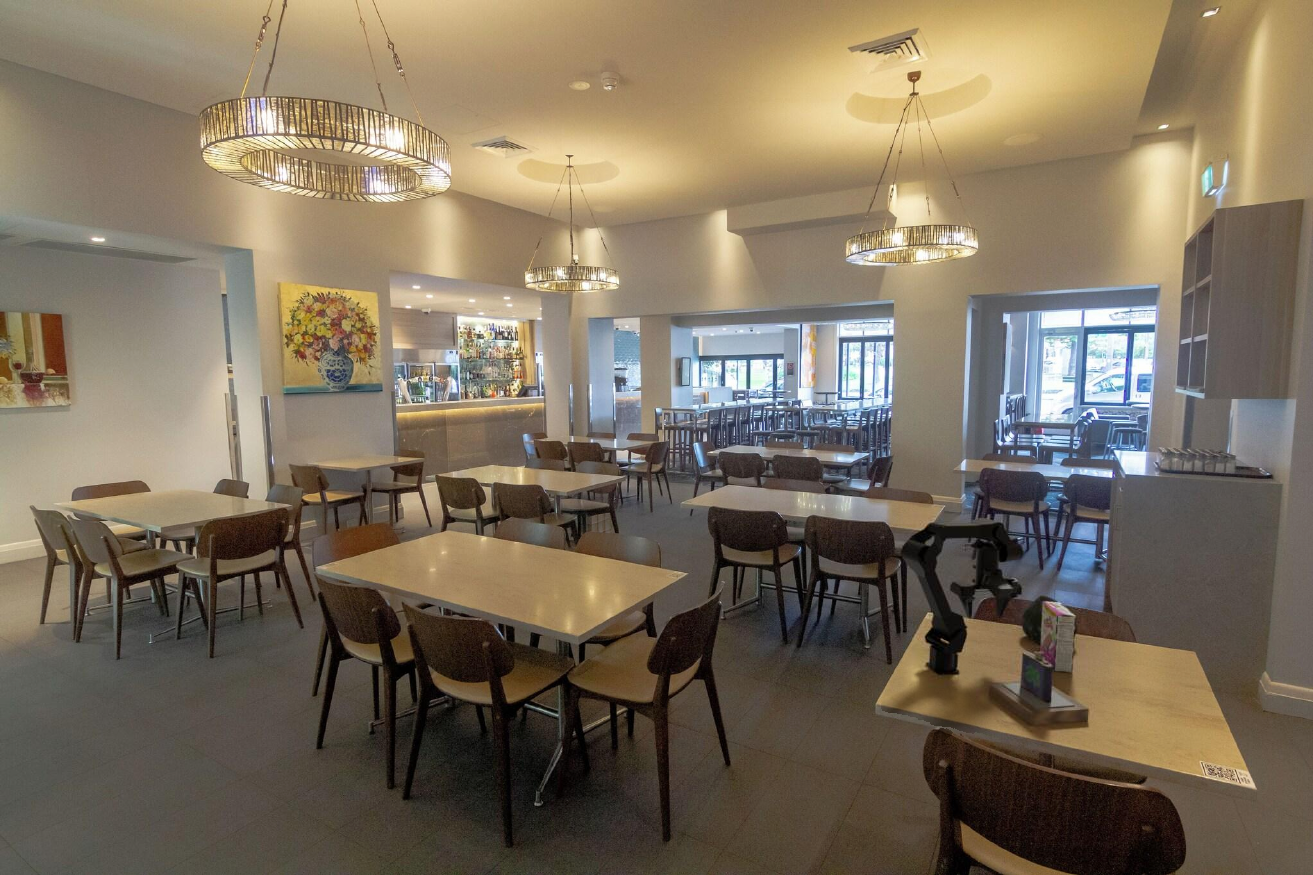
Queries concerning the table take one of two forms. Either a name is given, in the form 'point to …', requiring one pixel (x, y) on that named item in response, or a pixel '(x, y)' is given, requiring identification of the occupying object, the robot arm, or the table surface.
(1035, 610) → the squash
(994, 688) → the walnut plinth
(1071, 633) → the candy bar box
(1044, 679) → the flask
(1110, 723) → the table surface
